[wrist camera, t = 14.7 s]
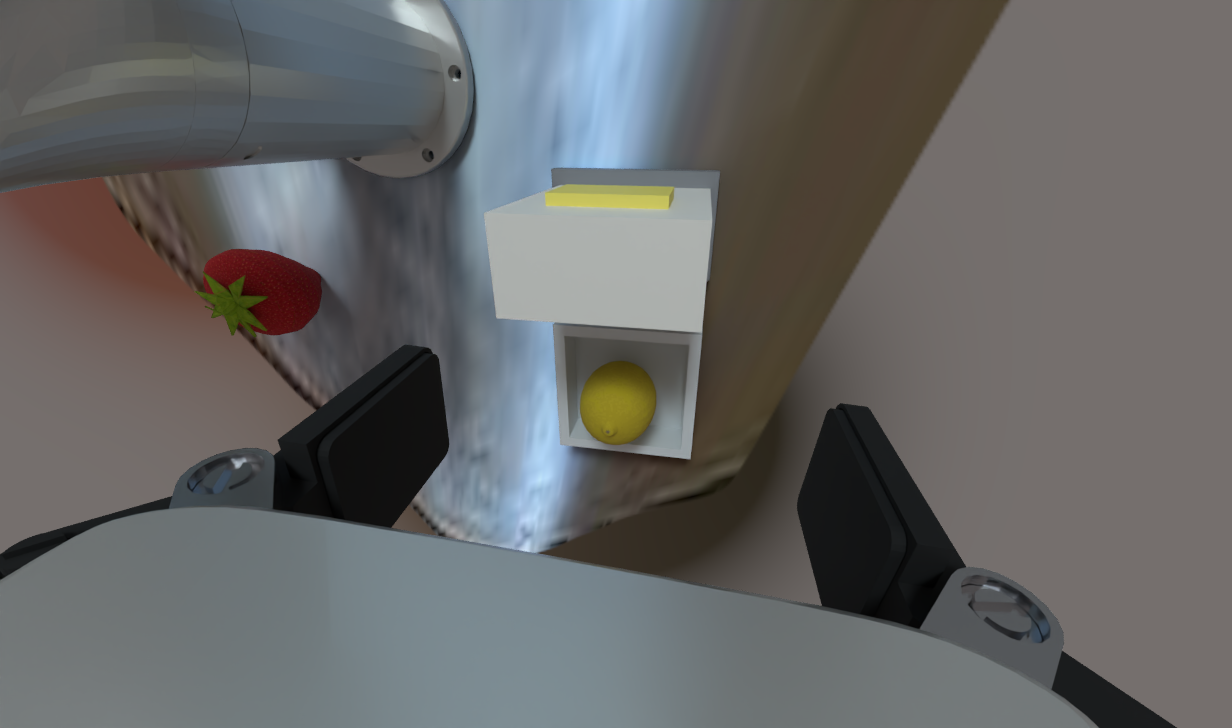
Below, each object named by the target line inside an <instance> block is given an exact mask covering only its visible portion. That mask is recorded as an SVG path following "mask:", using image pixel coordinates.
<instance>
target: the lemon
mask: <svg viewBox="0 0 1232 728" xmlns="http://www.w3.org/2000/svg"><path fill="white" fill-rule="evenodd" d="M655 409H656V390H655V387H654V383H653V381H652V379H651V378H650V376H649V375H648V373H647V372H646V371H645V370H644V369H643V368H641V367H639V366H638V365H636V364H634V363H631V362H628V361H613V362H609V363H607V364H604V365H602V366H601V367H599V368H598V369H597V370H595V371H594V372H593V373H592V374H591V376H590V377H589V378H588V380H587V381H586V383H585V385H584V388H583V390H582V393H581V397H580V415H581V419H582V422H583V424H584V426H585V428H586V430H587V431H588V432H589V433H590V434H591V436H593V437H594V438H595V439H597V440H598V441H600V442H603V443H605V444H610V445H622V444H627V443H629V442H632V441H634V440H635V439H637V438H638V437H639V436H640V435H642V434H643V433H644V432H645V430H646V429H647V427H648V426H649V424H650V423H651V421H652V419H653V416H654V413H655Z"/></svg>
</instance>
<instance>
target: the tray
mask: <svg viewBox="0 0 1232 728" xmlns="http://www.w3.org/2000/svg"><path fill="white" fill-rule="evenodd" d="M553 334H554V350H555V366H556V382H557V399H558V415H559V431H560V445H567V446H576V447H585V448H594V449H603V450H612V451H621V452H630V453H639V454H648V455H657V456H666V457H675V458H684V459H690V458H691V448H692V437H693V427H694V416H695V406H696V395H697V385H698V374H699V364H700V353H701V343H702V333H701V332H687V331H672V330H658V329H644V328H629V327H615V326H601V325H586V324H572V323H558V322H555V323H554V324H553ZM613 361H628V362H631V363H634V364H636V365H638V366H639V367H641V368H643V369H644V370H645V371H646V372H647V373H648V375H649V376H650V378H651V379H652V381H653V383H654V387H655V390H656V409H655V413H654V416H653V419H652V421H651V423H650V424H649V426H648V427H647V429H646V430H645V432H644V433H643V434H642V435H640V436H639V437H638V438H637V439H635V440H634V441H632V442H629V443H627V444H622V445H610V444H605V443H603V442H600V441H598V440H597V439H595V438H594V437H593V436H591V434H590V433H589V432H588V431H587V430H586V428H585V426H584V424H583V422H582V419H581V415H580V397H581V393H582V390H583V388H584V385H585V383H586V381H587V380H588V378H589V377H590V376H591V374H592V373H593V372H594V371H595V370H597V369H598V368H599V367H601V366H602V365H604V364H607V363H609V362H613Z"/></svg>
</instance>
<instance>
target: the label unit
mask: <svg viewBox="0 0 1232 728" xmlns="http://www.w3.org/2000/svg"><path fill="white" fill-rule="evenodd" d="M551 171H552V188H550V189H548V190H545V191H542V192H540V193H537V194H534V195H531V196H529V197H526V198H523V199H520V200H518V201H515V202H512V203H510V204H507V205H504V206H501V207H499V208H496V209H493V210H491V211H488V212H485V213H484V218H485V226H486V235H487V243H488V251H489V260H490V268H491V276H492V285H493V293H494V301H495V310H496V318H500V319H515V320H529V321H543V322H558V323H572V324H586V325H601V326H615V327H629V328H644V329H658V330H672V331H687V332H701V333H702V325H703V314H704V303H705V293H706V282H707V280H710V269H711V259H712V249H713V238H714V228H715V218H716V208H717V197H718V187H719V177H720V171H718V170H659V169H601V168H553V169H551Z"/></svg>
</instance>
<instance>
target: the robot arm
mask: <svg viewBox="0 0 1232 728" xmlns="http://www.w3.org/2000/svg"><path fill="white" fill-rule="evenodd" d="M459 71H461V78H459V76H458V72H459ZM473 94H474V87H473V74H472V66H471V62H470V58H469V53H468V49H467V45H466V43H465V40H464V38H463V35H462V33H461V30H460V28H459V25H458V23H457V22H456V20H455V18H454V16H453V15H452V13H451V11H450V9H449V8H448V6H447V4H446V3H445V2H444V0H0V193H2V192H7V191H13V190H18V189H23V188H28V187H34V186H39V185H45V184H52V183H60V182H67V181H74V180H81V179H89V178H96V177H106V176H117V175H127V174H138V173H149V172H161V171H174V170H190V169H204V168H217V167H231V166H244V165H258V164H271V163H285V162H298V161H311V160H325V159H338V158H346V159H347V160H348V161H349V162H351V163H352V164H354V165H356V166H358V167H360V168H361V169H363V170H365V171H367V172H370V173H373V174H376V175H379V176H383V177H391V178H406V177H414V176H419V175H423V174H426V173H428V172H430V171H432V170H435V169H437V168H439V167H440V166H441V165H442V164H443V163H445V162H446V161H447V160H448V159H449V158H450V157H451V156H452V155H453V154H454V152H455V151H456V150H457V148H458V147H459V146H460V144H461V142H462V140H463V138H464V135H465V133H466V131H467V129H468V125H469V121H470V117H471V113H472V107H473ZM432 152H433V154H434V158H433V156H432ZM278 442H279V445H280V448H281V450H280V451H279V452H278V453H276V454H275V455H274V456H273V455H272V454H271V453H269V452H268V451H267V450H262V449H258V448H243V449H237V450H230V451H227V452H223V453H220V454H216V455H214V456H212V457H210V458H207V459H205V460H203V461H201V462H199V463H198V464H196V465H194V466H193V467H191V468H190V469H188V470H187V471H186V472H185V473H184V474H183V475H182V476H181V477H180V478H179V480H178V482H177V484H176V486H175V489H174V492H173V496H171V497H167V498H164V499H161V500H157V501H154V502H150V503H147V504H143V505H140V506H137V507H133V508H129V509H126V510H123V511H119V512H115V513H112V514H109V515H105V516H102V517H98V518H95V519H91V520H88V521H84V522H81V523H78V524H74V525H70V526H67V527H63V528H60V529H57V530H53V531H50V532H47V533H43V534H39V535H35V536H32V537H29V538H27V539H25V540H23V541H20V542H18V543H17V544H15V545H13V546H11V547H10V548H8V549H7V550H6V551H5V552H3V553H2V554H0V728H1177V727H1175V726H1173V725H1172V724H1170V723H1169V722H1168V721H1166V720H1165V719H1163V718H1162V717H1160V716H1159V715H1157V714H1156V713H1154V712H1153V711H1151V710H1149V709H1148V708H1147V707H1145V706H1144V705H1142V704H1141V703H1139V702H1138V701H1136V700H1135V699H1133V698H1131V697H1130V696H1129V695H1127V694H1126V693H1124V692H1123V691H1121V690H1120V689H1118V688H1117V687H1115V686H1114V685H1112V684H1111V683H1109V682H1108V681H1106V680H1105V679H1103V678H1102V677H1100V676H1099V675H1097V674H1096V673H1095V672H1093V671H1092V670H1090V669H1089V668H1087V667H1086V666H1084V665H1083V664H1081V663H1079V662H1078V661H1076V660H1075V659H1074V658H1072V657H1071V656H1069V655H1068V654H1066V653H1065V652H1063V651H1062V649H1063V645H1064V637H1063V636H1064V635H1063V630H1062V628H1061V626H1060V624H1059V622H1058V620H1057V618H1056V617H1055V616H1054V615H1053V613H1052V612H1051V611H1050V610H1049V608H1048V607H1047V606H1046V605H1045V604H1044V603H1043V602H1042V601H1040V600H1039V599H1038V598H1037V597H1036V596H1035V595H1034V594H1033V593H1032V592H1030V591H1028V590H1027V589H1026V588H1024V587H1023V586H1021V585H1019V584H1018V583H1017V582H1015V581H1013V580H1011V579H1009V578H1007V577H1005V576H1003V575H1001V574H999V573H996V572H992V571H990V570H986V569H983V568H975V567H966V566H965V564H964V563H963V561H962V559H961V557H960V556H959V554H958V553H957V551H956V549H955V548H954V546H953V544H952V543H951V541H950V540H949V538H948V536H947V535H946V533H945V531H944V530H943V528H942V526H941V525H940V523H939V521H938V520H937V518H936V517H935V515H934V513H933V512H932V510H931V508H930V507H929V505H928V504H927V502H926V500H925V499H924V497H923V496H922V494H921V492H920V490H919V489H918V487H917V485H916V484H915V482H914V481H913V479H912V477H911V476H910V474H909V473H908V471H907V469H906V468H905V466H904V464H903V463H902V461H901V459H900V458H899V456H898V455H897V453H896V452H895V450H894V448H893V446H892V445H891V443H890V441H889V440H888V438H887V437H886V435H885V434H884V432H883V430H882V428H881V427H880V425H879V423H878V422H877V420H876V419H875V417H874V415H873V414H872V412H871V410H870V409H869V408H868V407H864V406H856V405H849V404H839V405H838V406H837V407H836V409H829V410H828V411H827V414H826V416H825V419H824V422H823V425H822V428H821V431H820V434H819V437H818V440H817V443H816V446H815V449H814V452H813V455H812V458H811V461H810V464H809V467H808V470H807V473H806V476H805V479H804V482H803V485H802V488H801V491H800V494H799V497H798V502H797V511H798V515H799V519H800V523H801V527H802V531H803V535H804V539H805V542H806V546H807V550H808V554H809V558H810V561H811V565H812V569H813V573H814V577H815V580H816V584H817V588H818V592H819V595H820V599H821V604H822V606H819V605H814V604H808V603H802V602H797V601H791V600H787V599H782V598H777V597H771V596H766V595H761V594H756V593H750V592H745V591H739V590H734V589H729V588H723V587H718V586H712V585H707V584H702V583H696V582H690V581H685V580H680V579H674V578H669V577H664V576H658V575H653V574H648V573H642V572H636V571H631V570H626V569H620V568H615V567H609V566H603V565H598V564H593V563H587V562H581V561H576V560H570V559H565V558H559V557H553V556H547V555H542V554H537V553H531V552H526V551H520V550H514V549H509V548H503V547H498V546H492V545H486V544H481V543H475V542H469V541H463V540H458V539H452V538H446V537H440V536H434V535H429V534H423V533H417V532H411V531H405V530H400V529H394V528H391V527H392V526H393V525H394V523H395V522H396V521H397V519H398V518H399V517H400V515H401V514H402V513H403V511H404V510H405V509H406V508H407V506H408V505H409V504H410V502H411V501H412V500H413V498H414V497H415V496H416V494H417V493H418V492H419V490H420V489H421V488H422V486H423V485H424V484H425V483H426V481H427V480H428V479H429V477H430V476H431V475H432V473H433V472H434V471H435V469H436V468H437V467H438V465H439V464H440V463H441V461H442V460H443V459H444V457H445V456H446V454H447V452H448V448H449V437H448V429H447V421H446V413H445V405H444V397H443V389H442V381H441V373H440V365H439V359H438V357H437V355H435V354H433V353H432V351H431V349H429V348H426V347H419V346H412V345H404V346H402V347H401V348H399V349H398V350H397V351H395V352H394V353H393V354H391V355H390V356H389V357H387V358H386V359H385V360H383V361H382V362H381V363H379V364H378V365H377V366H375V367H374V368H373V369H371V370H370V371H369V372H367V373H366V374H365V375H363V376H362V377H361V378H359V379H358V380H357V381H355V382H354V383H353V384H351V385H350V386H349V387H347V388H346V389H345V390H343V391H342V392H341V393H339V394H338V395H337V396H335V397H334V398H333V399H331V400H330V401H329V402H327V403H326V404H325V405H323V406H322V407H321V408H319V409H318V410H317V411H315V412H314V413H313V414H311V415H310V416H309V417H308V418H306V419H305V420H303V421H302V422H301V423H300V424H298V425H297V426H295V427H294V428H293V429H292V430H290V431H289V432H288V433H286V434H285V435H283V436H282V437H281V438H280V439H278Z"/></svg>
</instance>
